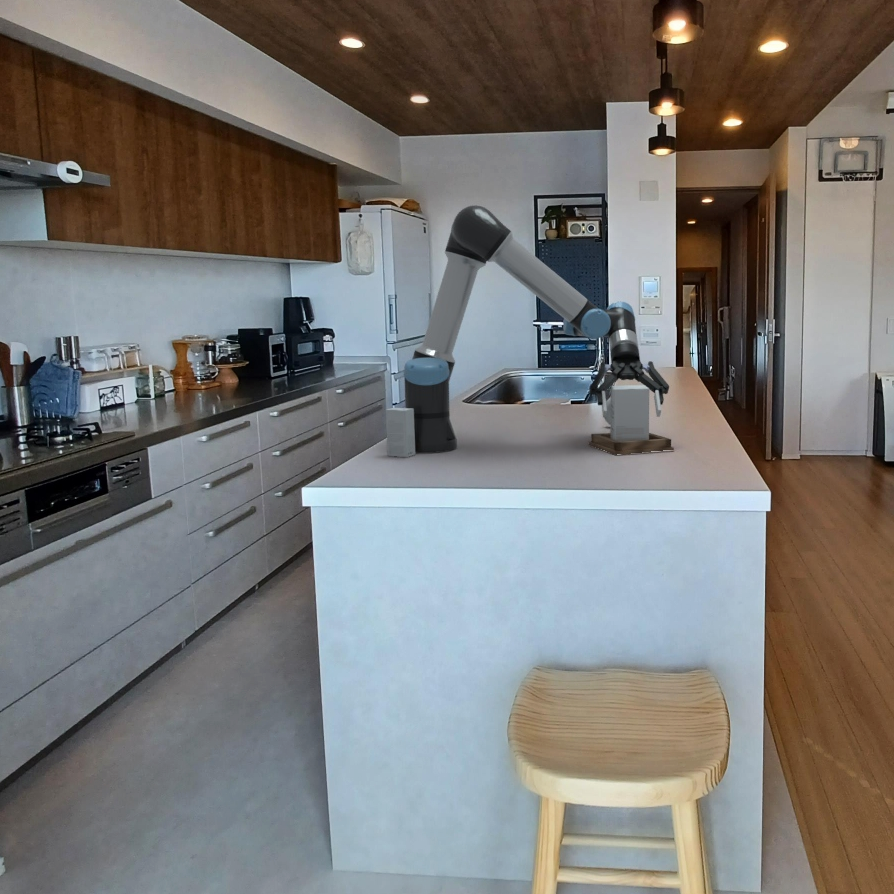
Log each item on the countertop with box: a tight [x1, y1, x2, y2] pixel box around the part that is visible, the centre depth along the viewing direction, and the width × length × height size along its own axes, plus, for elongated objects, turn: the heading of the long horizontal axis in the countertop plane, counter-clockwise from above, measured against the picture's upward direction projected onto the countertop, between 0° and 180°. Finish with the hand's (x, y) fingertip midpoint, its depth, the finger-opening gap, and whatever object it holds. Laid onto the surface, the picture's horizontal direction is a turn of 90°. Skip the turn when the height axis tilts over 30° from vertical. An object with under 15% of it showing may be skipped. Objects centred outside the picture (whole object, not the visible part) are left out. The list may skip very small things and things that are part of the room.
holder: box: [588, 432, 675, 456], centre depth 222 cm, size 16×16×3 cm
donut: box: [603, 396, 611, 426], centre depth 256 cm, size 10×4×10 cm, turn 79°
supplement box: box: [610, 384, 650, 442], centre depth 221 cm, size 9×9×15 cm
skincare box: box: [385, 407, 416, 458], centre depth 217 cm, size 6×4×12 cm
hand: (631, 414), depth 219 cm, fingers open, 13 cm apart
